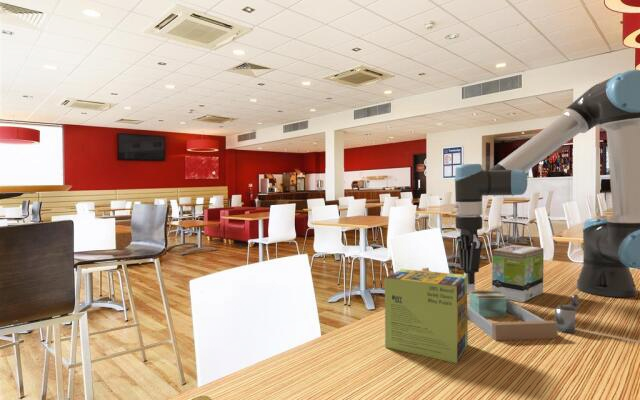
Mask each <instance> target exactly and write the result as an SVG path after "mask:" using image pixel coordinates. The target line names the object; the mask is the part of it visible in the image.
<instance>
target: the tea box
mask: <svg viewBox="0 0 640 400" xmlns="http://www.w3.org/2000/svg"><path fill="white" fill-rule="evenodd" d="M544 250H545V249H544V247H538V246H527V245H518V244H511V245H505V246H502V247H499V248H495V249H492V264H491V265H492V267H491V270H492V271H491V290H497V291H498V294H503V295H505V298H506V299H507V300H509V301H513V302H514V301H515V302H519V303H525V302H526V301H528V300H530V299H532V298H534V297H537V296H539V295H541V294H543V293H544V263H545V262H544V260H545V259H544V256H545V255H544V254H545V253H544V252H545V251H544Z"/></svg>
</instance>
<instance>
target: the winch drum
mask: <svg viewBox="0 0 640 400" xmlns="http://www.w3.org/2000/svg"><path fill="white" fill-rule="evenodd" d="M576 310H579V295H577V294H571V304H560V306H556V307H555V308H554V317H555V318H554V322H556V323H557V332H561V333H564V334H575V333H576Z"/></svg>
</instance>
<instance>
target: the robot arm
mask: <svg viewBox="0 0 640 400" xmlns="http://www.w3.org/2000/svg"><path fill="white" fill-rule="evenodd" d="M596 126H599V127H600V128H601V129H603V130H604V131H605V132H606V142H607V143H606V144H607V153H608V154H607V155H608V166H609V167H608V168H609V180H610V181H609V182H610V193H611V195H610V196H611V205H612V208H611V209H612V214H611V215H610V216H609V217H608V218H589V219H586V220H585V221H584V222H583V227H582V228H583V229H582V233H583V234H582V236H583V237H582V238H583V240H582V241H583V244H582V245H583V246H582V250H583V251H582V253H583V256H582V257H583V262H582V264H583V266H582V267H581V270H580V271H579V276H578V278H577V280H576V288H577V289H578V290H580V291H582V292H585V293H588V294H592V295H595V296H596V295H598V296H602V297H603V296H605V297H613V298H630V297H634V296H636V295H637V286H636V284H635V281H634V278H633V275H632V273H631V270H630V268H631V269H637V270H640V69H632V70H630V69H629V70H626V71H624V72H621V73H617V74H615V75H613V76H612V77H610V78H607V79H606V80H603V81H601V82H599V83H597V84H595V85H592V86H591V87H590V88H589V89H587V90H586V91H585V92H584V93H583V94H582V95H580V96H579V97H578V98H577V99H576V100H575V101H573V102H572V103H571V104H570V105H568V106H567V107H566V108H565V109H563V110H562V113H561V115H560V116H559V117H557V119H555V120H553V121H552V122H551V123H550V124H548V126H546V127H545V128H543V129H542V130H541V131H540V132H538V133H537V134H534V136H533V137H531V138H530V139H529V140H527V141H526V142H524V143H523V144H522V145H521V146H519V147H518V148H517V149H515V150H514V151H513V152H511V153H510V154H508V155H507V156H506V157H505V158H503V159H502V160H500V161H499V162H498V163H497V164H495V165H494V166H493V167H491V168H490V169H488V170H484V169H483V165H482V164H480V163H465V164H463V163H462V164H458V165H457V166H455V172H454V173H455V174H454V175H455V176H454V184H455V185H454V186H455V187H454V191H455V193H454V197H455V205H454V206H453V207H454V209H455V214H456V217H455V229H456V230H460V234H459V236H456V240H457V245H458V255H459V257H458V258H459V267H460V268H461V269H462V272H463V275H467V296H470V294H469V291H470V290H476V286H475V285H476V281H475V279H476V273H479V271H480V261H481V253H482V251H481V250H482V248H483V245H484V244H483V241H479V234H478V230H481V229H483V217H482V216H481V215H483V196H485V197H486V196H512V197H513V196H521V195H524V194H525V193H526V191H527V189H528V176H527V174H526V173H527V172H528V171H529V170H530V169H532V168H533V167H535V166H536V165H538V164H539V163H540V162H542V161H543V160H544V159H546V158H547V157H548V156H550V155H551V154H553V153H554V152H555V151H557V150H558V149H559V148H561V147H562V146H564V145H565V144H566V143H568V142H569V141H571V140H572V139H573V138H575V137H576V136H578V134H586V133H588V132H589V131H590V130H591V129H593V128H594V127H596Z"/></svg>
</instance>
